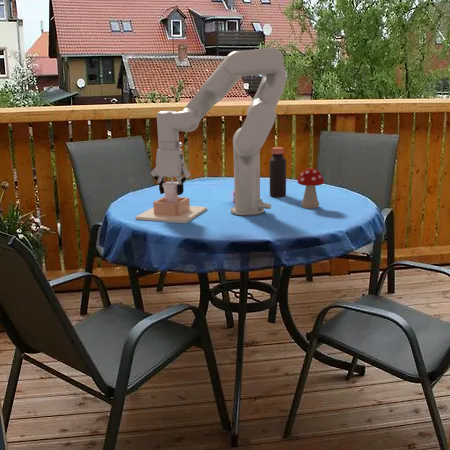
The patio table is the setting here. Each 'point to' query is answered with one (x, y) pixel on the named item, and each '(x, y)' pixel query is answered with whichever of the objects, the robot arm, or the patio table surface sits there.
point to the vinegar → (277, 173)
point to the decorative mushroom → (310, 187)
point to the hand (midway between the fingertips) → (171, 193)
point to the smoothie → (171, 191)
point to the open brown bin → (172, 211)
